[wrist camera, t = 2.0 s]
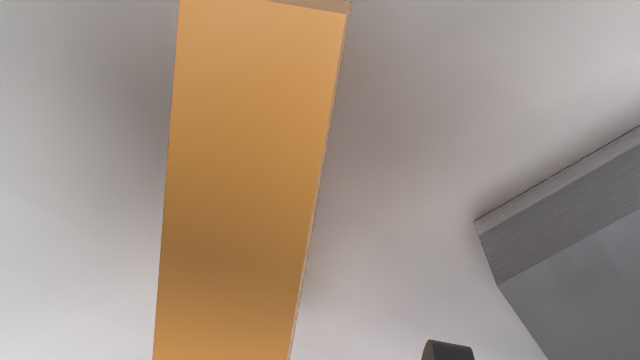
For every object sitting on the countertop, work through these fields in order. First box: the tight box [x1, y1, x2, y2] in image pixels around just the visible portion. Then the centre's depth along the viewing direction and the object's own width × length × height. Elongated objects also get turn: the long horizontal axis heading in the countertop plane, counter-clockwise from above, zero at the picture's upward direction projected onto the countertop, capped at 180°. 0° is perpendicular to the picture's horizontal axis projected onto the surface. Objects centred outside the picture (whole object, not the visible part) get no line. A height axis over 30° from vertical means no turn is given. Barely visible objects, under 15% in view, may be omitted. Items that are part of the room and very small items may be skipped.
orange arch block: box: [152, 0, 352, 360], centre depth 16 cm, size 11×3×7 cm, turn 171°
